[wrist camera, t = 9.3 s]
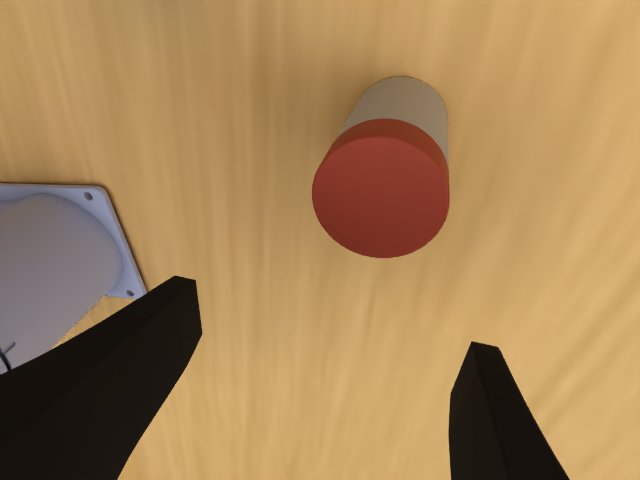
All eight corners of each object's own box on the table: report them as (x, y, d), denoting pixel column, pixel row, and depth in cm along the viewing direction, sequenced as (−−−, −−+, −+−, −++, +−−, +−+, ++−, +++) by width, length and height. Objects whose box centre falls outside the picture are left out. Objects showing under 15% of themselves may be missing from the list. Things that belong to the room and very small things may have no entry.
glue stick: (354, 168, 20) (317, 254, 14) (349, 78, 17) (304, 136, 12) (444, 169, 19) (444, 263, 13) (451, 73, 16) (454, 135, 11)
